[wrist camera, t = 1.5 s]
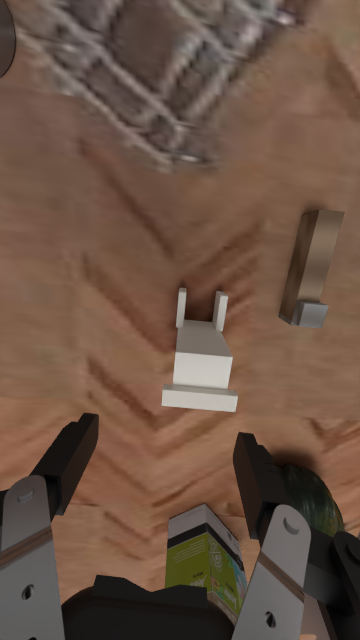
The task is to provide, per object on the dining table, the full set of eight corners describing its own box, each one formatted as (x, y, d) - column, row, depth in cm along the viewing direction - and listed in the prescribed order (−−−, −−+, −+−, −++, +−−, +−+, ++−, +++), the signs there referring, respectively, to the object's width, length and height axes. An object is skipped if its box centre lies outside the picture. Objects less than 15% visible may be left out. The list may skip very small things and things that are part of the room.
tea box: (240, 540, 49) (262, 655, 35) (203, 554, 51) (210, 669, 37) (205, 501, 46) (214, 611, 32) (167, 518, 47) (159, 629, 33)
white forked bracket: (175, 287, 32) (168, 307, 20) (227, 291, 32) (254, 314, 20) (169, 352, 36) (161, 405, 23) (217, 357, 36) (235, 412, 23)
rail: (302, 215, 29) (330, 205, 23) (323, 217, 29) (357, 208, 23) (278, 316, 33) (297, 329, 28) (297, 318, 33) (320, 331, 28)
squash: (350, 529, 39) (388, 594, 26) (272, 549, 42) (272, 617, 29) (303, 445, 46) (315, 464, 33) (239, 468, 49) (227, 493, 36)
